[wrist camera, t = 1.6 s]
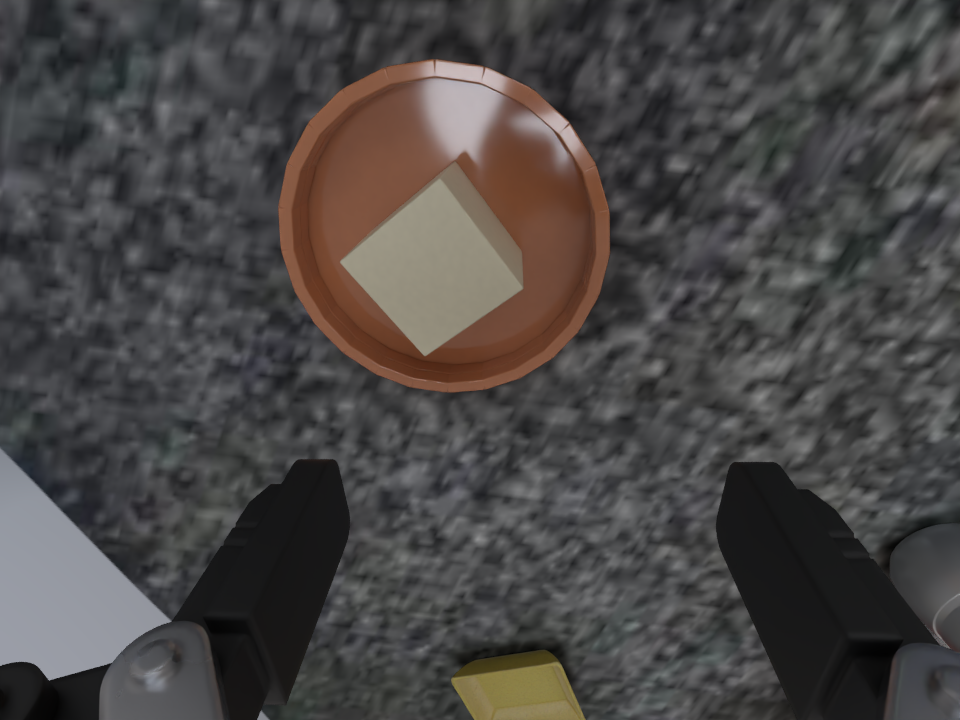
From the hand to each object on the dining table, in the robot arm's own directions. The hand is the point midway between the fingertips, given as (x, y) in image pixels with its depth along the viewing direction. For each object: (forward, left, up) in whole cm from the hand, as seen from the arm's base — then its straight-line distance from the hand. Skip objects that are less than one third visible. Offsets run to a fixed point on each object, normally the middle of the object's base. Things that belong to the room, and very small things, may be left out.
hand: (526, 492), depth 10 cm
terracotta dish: (-3, -2, -15) cm, 16 cm away
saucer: (+28, -20, -16) cm, 38 cm away
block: (-3, -2, -15) cm, 15 cm away
